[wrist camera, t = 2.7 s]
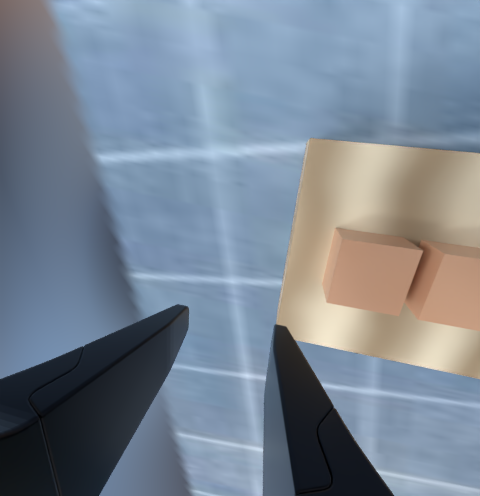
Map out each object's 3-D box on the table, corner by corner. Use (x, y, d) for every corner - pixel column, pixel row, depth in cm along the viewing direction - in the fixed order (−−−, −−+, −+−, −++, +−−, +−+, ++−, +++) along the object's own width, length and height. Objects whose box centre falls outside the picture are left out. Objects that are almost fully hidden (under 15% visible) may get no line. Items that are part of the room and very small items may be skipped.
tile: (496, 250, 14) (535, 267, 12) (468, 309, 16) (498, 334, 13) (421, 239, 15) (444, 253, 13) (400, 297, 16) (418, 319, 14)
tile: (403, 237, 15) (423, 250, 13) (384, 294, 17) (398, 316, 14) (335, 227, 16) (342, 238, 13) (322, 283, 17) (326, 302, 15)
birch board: (537, 164, 16) (611, 165, 12) (452, 341, 21) (487, 380, 17) (306, 143, 18) (310, 138, 14) (277, 307, 23) (275, 335, 19)
